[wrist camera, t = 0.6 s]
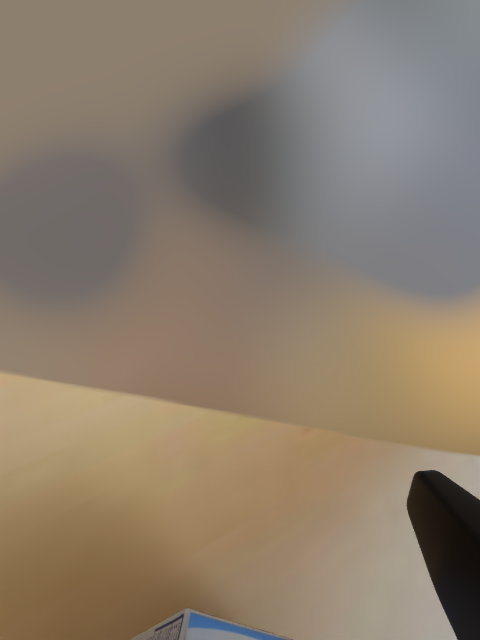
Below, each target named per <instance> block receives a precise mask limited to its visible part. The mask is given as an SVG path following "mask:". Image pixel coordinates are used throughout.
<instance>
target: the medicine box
mask: <svg viewBox="0 0 480 640" xmlns="http://www.w3.org/2000/svg"><path fill="white" fill-rule="evenodd" d="M131 640H293V639H289V638H286V637H283V636H279V635H276V634H273V633H269V632H266V631H262V630H259V629H255V628H252V627H248V626H245V625H242V624H239V623H235V622H232V621H228V620H225V619H222V618H218V617H215V616H211V615H208V614H205V613H202V612H198V611H195V610H193V609H191V608H186V609H184V610H182V611H180V612H178V613H176V614H174V615H173V616H171V617H169V618H167V619H165V620H164V621H162V622H160V623H158V624H157V625H155V626H153V627H151V628H150V629H148V630H146V631H144V632H142V633H140V634H139V635H137V636H135V637H133V638H132V639H131Z"/></svg>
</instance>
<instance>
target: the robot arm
mask: <svg viewBox="0 0 480 640" xmlns="http://www.w3.org/2000/svg"><path fill="white" fill-rule="evenodd" d="M407 510H408V514H409V517H410V520H411V523H412V526H413V529H414V531H415V534H416V537H417V540H418V543H419V546H420V548H421V551H422V554H423V557H424V560H425V563H426V566H427V568H428V571H429V574H430V577H431V580H432V582H433V585H434V588H435V590H436V593H437V595H438V597H439V600H440V602H441V604H442V607H443V609H444V611H445V613H446V615H447V617H448V620H449V622H450V624H451V626H452V628H453V630H454V632H455V635H456V637H457V639H458V640H480V500H479V499H477V498H476V497H475V496H473V495H472V494H470V493H469V492H467V491H466V490H465V489H463V488H462V487H460V486H459V485H457V484H456V483H455V482H453V481H452V480H450V479H449V478H447V477H446V476H445V475H443V474H442V473H440V472H438V471H435V470H429V471H418V472H416V473H415V474H414V477H413V480H412V484H411V488H410V491H409V495H408V499H407Z"/></svg>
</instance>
